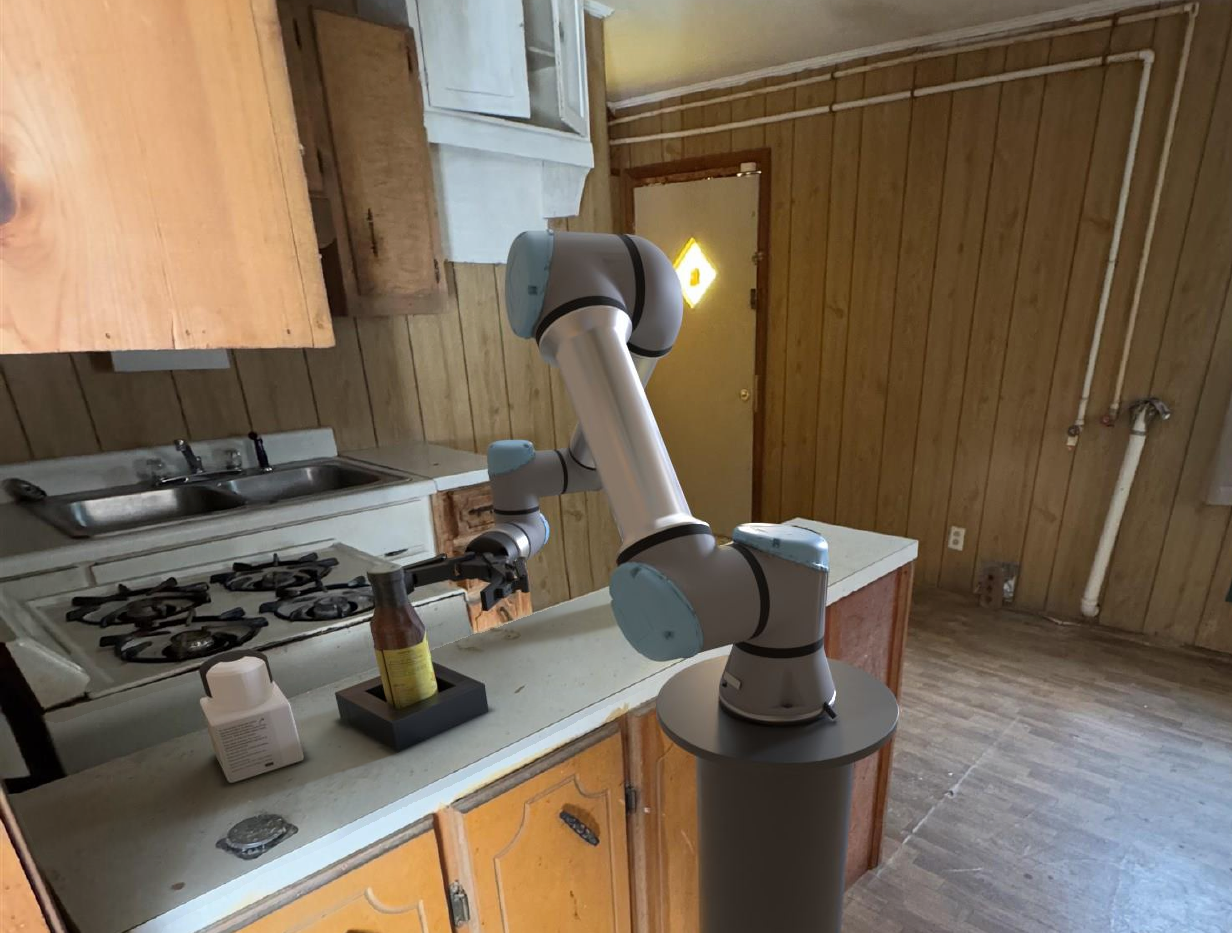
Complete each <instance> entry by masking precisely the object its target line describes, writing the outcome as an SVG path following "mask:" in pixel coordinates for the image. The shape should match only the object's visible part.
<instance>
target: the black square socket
mask: <svg viewBox="0 0 1232 933" xmlns="http://www.w3.org/2000/svg"><path fill="white" fill-rule="evenodd" d="M432 663H433V669H434V674H435V678H436V683H437V688H438V693H437V694H435V695H433V696H430V697H428V698H425V699H423V700H420V701H418V702H416V703H413V704H411V705H408V706H406V707H403V708H401V709H398V708H396V707H394V706H392V705H390V704H388V703H387V701H386V696H385V692H384V688H383V684H382V680H381V675H378V676H375V677H373V678H371V679H368V680H365V681H362V682H359V683H356V684H353V685H351V686H348V687H346V688H343V689H340V690H337V691H335V692H334V696H335V700H336V705H337V710H338V713H339V718H340V721H341V722H343V723H344V724H347V725H348V726H350V727H351V728H353V729H356V730H357V731H359V732H361V733H362V734H365V735H366V736H368V737H370V738H371V739H373V740H375V741H377V742H378V743H380V744H382V745H384V746H386V747H387V748H389V749H390V750H393V751H394V752H395V753H401V752H402V751H405V750H407V749H409V748H412V747H413V746H416V745H418V744H421V743H422V742H424V741H426V740H429V739H431V738H433V737H436V736H438V735H440V734H442V733H444V732H447V731H449V730H451V729H454V728H455V727H457V726H460V725H462V724H464V723H467V722H469V721H471V720H473V719H475V718H477V717H479V716H481V715H483V714H486V713H488V712H489V704H488V698H487V689H486V684H485V683H484V682H482V681H479V680H477V679H475V678H472V677H469V676H467V675H465V674H463V673H461V672H458V671H457V670H456V671H455V670H454V669H451V668H449V667H446V666H444V665H442V664H439V663H438V662H434V661H432Z"/></svg>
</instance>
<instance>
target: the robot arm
mask: <svg viewBox="0 0 1232 933" xmlns="http://www.w3.org/2000/svg"><path fill="white" fill-rule="evenodd" d="M504 300H505V310H506V316H507V320H508V323H509V326H510V328H511V330H512V332H513V334H515V335H516V336H517V337H518V338H521V339H524V340H530V339H532V338H533V339H534V340H535V344H536V345H537V348H538V351H539V354H540V356H541V358H542V359H543V361H545V363H547V364H548V365H550V366H552V367H554V368H557V369H559V372H560V374H561V377H562V380H563V383H564V385H565V389H566V392H567V393H568V396H569V399H570V402H571V405H572V407H573V411H574V412H575V416H576V419H577V422H576V424H575V427H574V429H573V432H572V434H571V438H570V441H569V442H568V445H567V447H565V448H555V449H544V450H535V447H534V444H533V443H532V442H531V441H529V440H525V439H504V440H503V439H502V440H497V441H494V442H491V443H490V444H489V445H488V447H487V449H486V462H487V476H488V481H489V482H488V483H489V488H490V495H491V501H492V509H493V510H492V511H493V512H492V513H493V521H494V525H493V526H492V527H490V528H488V529H486V530H485V531H484V532H482V533H481V534H479V535H477V536H476V537H474V538H473V539H472V540H471V541H470V542H469V543H468V544H467V546H466V548H465V550H464V552H463V553H462V554H461V555H456V556H451V557H448V553H446V552H441V553H439V554H437V555H435V556H433V557H430V558H427V559H422V560H420V561H416V562H412V563H409V564H405V565H401V566H402V567H403V571H404V575H405V576H404V583H405V588H406V592H407V595H408V596H409V595H412V594H413V593H414V592H415V588H420V587H424V586H428V585H434V584H437V583H442V582H447V581H451V582H453V583H456V582H460V581H465V580H469V581H470V580H471V581H472V580H476V579H478V580H479V581H481V582H483V583H487V584H488V585H486V586H485V587H484V588H483V589H481V590H480V591H479V597H480V604H481V611H482V612H489V611H490V610H491V609H492V608H494V606H495V605H497V604H498V603H499V602H500V601H501V600H502V599H506V598H508V597H509V596H510V595H513V594H516V593H517V591H520V592H521V593H522V594H527V593H530V592H531V587H530V579H529V577H530V576H529V573H528V564H527V561H528V560H530V559H531V558H532V557H533V556H535V555H536V554H538V553H539V552H541V550H542V549H543V548H544V546H545V545H546V543H547V542H548V541H549V537H550V525H549V522H548V521H547V519H546V517H545V516H544V515H543V514H542V513H541V510H540V509H541V508H540V499H541V498H547V497H553V496H561V495H569V494H577V493H585V492H599V491H601V490H603V492H604V495H605V497H606V500H607V503H608V505H609V509H610V511H611V514H612V516H613V519H614V522H615V524H616V528H617V530H618V534H619V536H620V539H621V541H622V543H621V546H620V547H619V549H618V552H617V553H616V555H615V562H616V565H617V567H616V568H615V569H614V570H613V572H612V574H610V579H609V584H608V585H609V587H608V592H609V596H610V597H611V599H612V600H610V605H611V609H612V610H611V611H612V613H613V617H614V619H615V621H616V624H617V626H618V628H619V630H620V632H621V633H622V635H623V637H624V638H625V640H626V641H627V642H628V644H629V645H630V646H631V647H632V648H633V649H634V650H635V652H637V653H638V654H640V655H642V656H643V657H644V658H646V659H648V660H650V661H653V662H657V663H659V662H660V663H663V662H665V663H666V662H670V661H674V660H679V659H684V660H685V659H690V658H694V657H695V656H697V655H698V654H701V653H705V652H708V651H713V650H716V649H719V648H723V647H727V646H731V645H732V647H731V650H730V652H729V654H730V655H729V654H728V655H729V658H728V660H727V663H726V666H725V669H724V672H723V674H722V677H721V680H720V685H719V703H720V706H721V707H722V708H723V710H724V711H725V712H726V713H728V714H729V715H731V716H732V717H734V718H736V719H738V720H741V721H744V722H747V723H750V724H754V725H759V726H766V727H794V726H801V725H805V724H809V723H812V722H815V721H818V720H820V719H822V718H824V717H825V716H827V715H829V716H830V717H831V719H834V718H835V717H836V716H837V714H836V713H835V712H834V710H833V707H834V703H835V687H834V683H833V680H832V677H831V673H830V669H829V665H828V662H827V658H828V657H827V655H826V652H825V648H824V647H825V646H824V645H825V630H826V629H825V628H826V616H827V614H826V612H827V601H828V600H827V599H828V587H829V573H830V572H831V571H830V567H829V545H828V543H827V541H826V539H825V538H823V537H822V536H821V535H820V534H818V533H815V531H811V530H808V529H805V528H801V527H796V526H791V525H785V524H778V523H767V522H766V523H765V522H750V523H741V524H738V525H737V526H735V527H734V529H733V532H732V535H731V540H732V542H731V543H729V544H724V545H718V544H717V542H716V539H715V537H714V536H715V535H714V534H713V532H712V529H711V526H710V525H709V524H708V523H707V522H705V521H704V520H701V519H698V518H696V517H693V515H692V513H691V510H690V508H689V505H688V502H687V500H686V497H685V495H684V493H683V492H684V491H683V489H682V486H681V485H680V481H679V478H678V476H677V474H676V470H675V468H674V466H673V464H672V461H671V458H670V455H669V452H668V450H667V448H666V445H665V442H664V440H663V437H662V434H661V432H660V429H659V427H658V423H657V421H656V418H655V416H654V414H653V410H652V408H651V406H650V402H649V400H648V398H647V395H646V392H645V390H646V389H645V388H646V387H647V385H648V383H649V380H650V378H651V376H652V374H653V371H655V367H656V365H657V364H658V361H659V359H662V358H664V357H666V356H667V355H669V353H670V352H671V350H672V349H673V346H674V344H675V343H676V340H677V338H678V336H679V332H680V329H681V327H682V321H683V316H684V315H683V314H684V295H683V290H682V285H681V281H680V278H679V276H678V273H677V271H676V269H675V267H674V265H673V263H672V261H671V260H670V259H669V257H668V256H667V255H666V254H665V253H664V252H663V250H662V249H660V247H658V246H657V245H655V244H654V243H653V242H651V241H650V240H648V239H646V238H644V237H642V236H640V235H635V234H628V233H620V234H613V233H601V232H598V233H597V232H581V231H565V230H553V229H552V228H547V229H545V230H525V231H522V232H520V233H519V234H517V235H516V237H515V238H514V239H513V241H512V243H511V245H510V247H509V251H508V254H507V258H506V263H505V273H504ZM456 572H457V573H458V574H456ZM826 657H827V658H826Z"/></svg>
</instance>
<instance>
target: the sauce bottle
mask: <svg viewBox="0 0 1232 933" xmlns="http://www.w3.org/2000/svg"><path fill="white" fill-rule="evenodd" d="M402 566H403V565H401V564H400V563H392V562H391V563H382V564H377V565H373V566H371V567H369V568H367V569H366V578H367V581H368V583H369V584H370V586H371V590H372V594H373V602H374V605H375V606H374V610H373V615H372V616H371V620H370V622H369V628H370V634H371V636H372V641H373V649H374V654H375V658H376V663H377V667H378V671H379V674H380V675H379V676H381V680H382V684H383V688H384V692H385V696H386V701H387V703H388V704H390V705H392V706H394V707H396V708H398V709H401V708H403V707H406V706H408V705H411V704H413V703H416V702H418V701H420V700H423V699H425V698H428V697H430V696H433V695H435V694H437V693H438V688H437V683H436V678H435V674H434V669H433V663H432V662H433V659H432V654H431V650H430V649H431V648H430V645H429V640H428V634H427V630H426V626H425V624H424V623H423V620H422V619H421V618H420V616H419V614H418V612H417V611H416V608H414V606H413V605H412V602H411V601H410V599H409V595H407V592H406V588H405V583H404V576H405V575H404V571H403V567H402Z"/></svg>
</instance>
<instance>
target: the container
mask: <svg viewBox="0 0 1232 933" xmlns="http://www.w3.org/2000/svg"><path fill="white" fill-rule="evenodd" d="M271 670H272V669H271V666H270V663H269V659H268V657H267V655H266V654H264V653H263V652H261V651H259V650H254V649H253V650H252V649H235V650H229V651H224V652H221V653H219V654H216V655H214V656H212V657H210V658H208V659H207V660H205V661H204V662H203V663H202V664H201V665H200V667H199V668H198V673H199V677H200V679H201V682H202V686H203V689H204V693H205V696H206V697H201V698H200V699H199V705H200V708H201V711H202V715H203V718H204V721H205V724H206V727H207V731H208V734H209V737H210V741H211V744H212V747H213V750H214V753H215V756H216V758H217V761H218V762H219V765H220V767H221V769H222V771H223V774H224V776H225V777H226V779H227V781H228V783H230V784H234V783H236V782H240V781H243V780H246V779H249V778H252V777H255V776H259V775H262V774H264V773H268V772H271V771H275V770H277V769H278V770H279V769H281V768H284V767H287V766H291V765H293V764H295V763H299V762H302V761H303V760H304V757H305V756H304V753H303V749H302V745H301V741H300V736H299V734H298V733H299V732H298V730H297V729H298V728H297V725H296V721H295V717H294V714H293V710H292V706H291V703H290V701H289V700H288V699H287V697H286V696H285V695H284V693H283V692H282V689H280V688H279V686H278V685H277V683H276V682H275V681H274V679H273V675H272V671H271Z"/></svg>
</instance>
